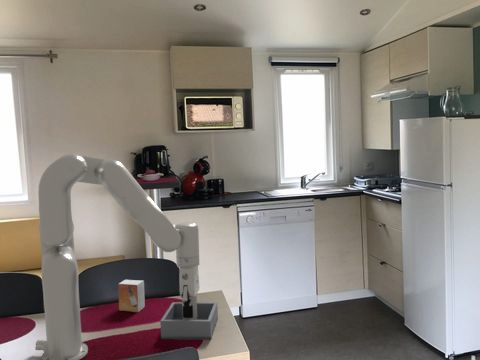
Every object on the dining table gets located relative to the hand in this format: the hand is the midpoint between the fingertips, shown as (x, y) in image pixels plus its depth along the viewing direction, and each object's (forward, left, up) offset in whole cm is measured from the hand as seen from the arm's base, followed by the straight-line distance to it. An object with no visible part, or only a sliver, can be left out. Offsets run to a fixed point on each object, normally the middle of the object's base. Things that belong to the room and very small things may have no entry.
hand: (189, 313), depth 141 cm
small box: (-26, +17, -5) cm, 31 cm away
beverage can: (0, 0, -3) cm, 3 cm away
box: (0, 0, -5) cm, 5 cm away
